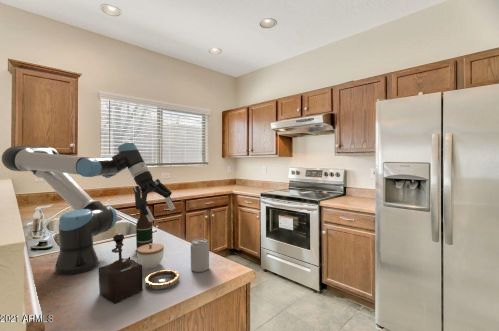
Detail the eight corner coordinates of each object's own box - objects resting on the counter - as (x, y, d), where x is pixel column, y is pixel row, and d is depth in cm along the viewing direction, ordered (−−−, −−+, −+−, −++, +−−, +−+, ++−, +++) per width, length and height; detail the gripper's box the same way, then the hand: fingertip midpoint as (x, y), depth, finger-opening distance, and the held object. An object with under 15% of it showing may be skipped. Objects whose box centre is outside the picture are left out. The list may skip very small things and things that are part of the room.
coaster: (139, 289, 92) (139, 284, 92) (154, 274, 103) (154, 269, 103) (172, 290, 91) (171, 285, 91) (182, 275, 103) (182, 270, 102)
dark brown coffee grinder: (145, 290, 92) (144, 239, 91) (113, 304, 83) (112, 248, 82) (122, 277, 101) (121, 231, 100) (91, 289, 92) (90, 239, 91)
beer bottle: (147, 245, 137) (146, 199, 136) (156, 248, 133) (155, 201, 132) (133, 249, 131) (132, 201, 130) (141, 252, 126) (141, 203, 125)
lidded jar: (168, 265, 112) (168, 243, 112) (144, 273, 104) (143, 250, 104) (156, 258, 119) (156, 238, 119) (132, 265, 112) (132, 244, 111)
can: (199, 274, 103) (199, 244, 103) (186, 269, 108) (186, 241, 107) (212, 268, 109) (212, 240, 109) (200, 263, 114) (200, 236, 113)
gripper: (122, 177, 106) (147, 223, 106) (165, 165, 129) (185, 203, 128) (112, 184, 110) (136, 229, 109) (155, 171, 132) (175, 208, 132)
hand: (163, 215), depth 119 cm, fingers open, 13 cm apart
